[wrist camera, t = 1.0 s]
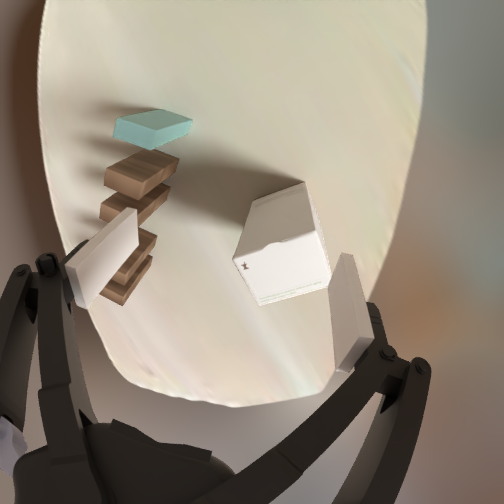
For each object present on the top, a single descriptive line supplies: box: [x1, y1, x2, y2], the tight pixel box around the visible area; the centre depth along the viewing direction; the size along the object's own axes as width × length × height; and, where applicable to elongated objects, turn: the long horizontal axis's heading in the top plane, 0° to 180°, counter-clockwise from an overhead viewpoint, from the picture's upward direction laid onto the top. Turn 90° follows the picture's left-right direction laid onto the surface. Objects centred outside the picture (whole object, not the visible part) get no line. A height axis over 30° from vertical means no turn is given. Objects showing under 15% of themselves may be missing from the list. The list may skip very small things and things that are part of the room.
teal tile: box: [113, 109, 192, 150], centre depth 29 cm, size 2×5×11 cm, turn 67°
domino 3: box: [111, 227, 157, 285], centre depth 39 cm, size 2×5×11 cm, turn 67°
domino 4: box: [99, 255, 152, 306], centre depth 42 cm, size 2×5×11 cm, turn 67°
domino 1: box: [104, 149, 179, 200], centre depth 32 cm, size 2×5×11 cm, turn 67°
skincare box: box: [232, 182, 332, 306], centre depth 32 cm, size 8×7×16 cm
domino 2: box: [99, 183, 170, 227], centre depth 35 cm, size 2×5×11 cm, turn 67°
